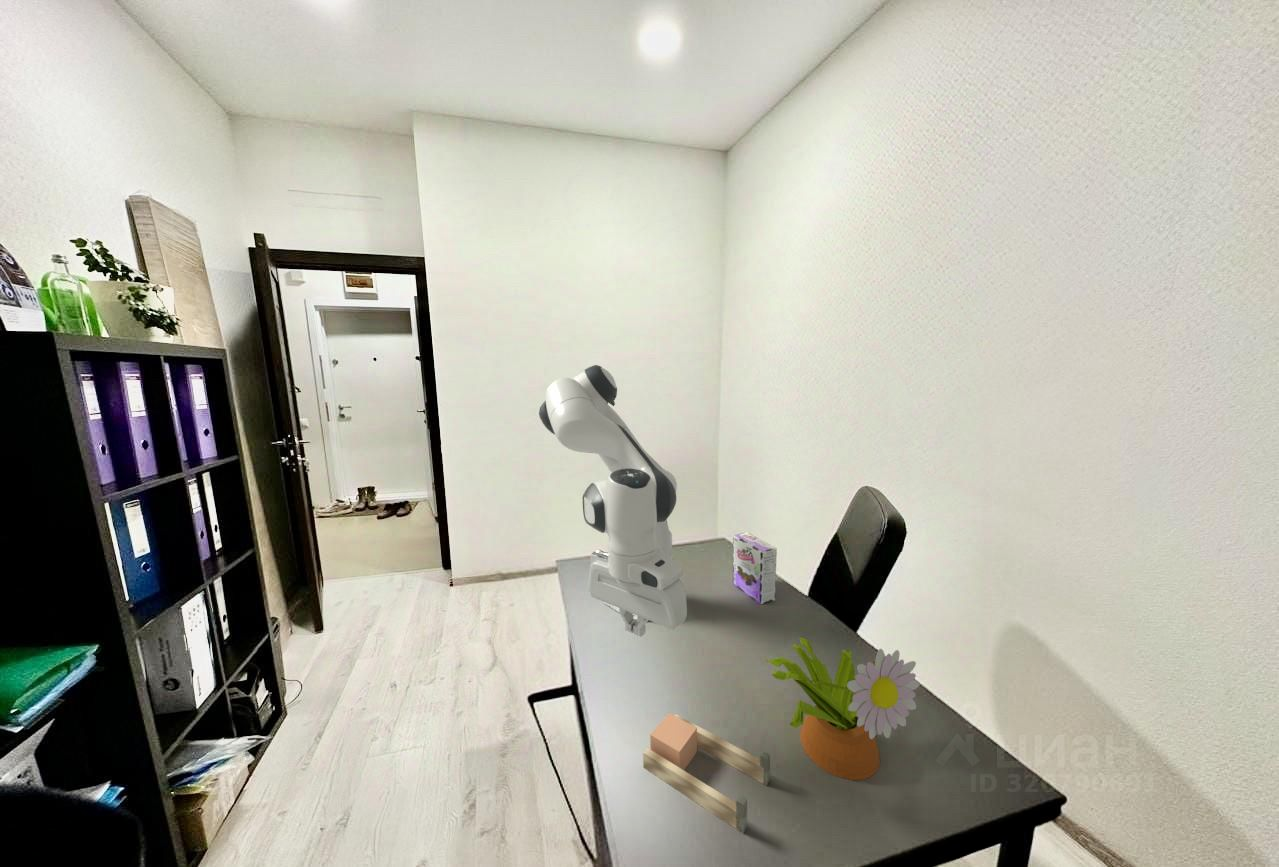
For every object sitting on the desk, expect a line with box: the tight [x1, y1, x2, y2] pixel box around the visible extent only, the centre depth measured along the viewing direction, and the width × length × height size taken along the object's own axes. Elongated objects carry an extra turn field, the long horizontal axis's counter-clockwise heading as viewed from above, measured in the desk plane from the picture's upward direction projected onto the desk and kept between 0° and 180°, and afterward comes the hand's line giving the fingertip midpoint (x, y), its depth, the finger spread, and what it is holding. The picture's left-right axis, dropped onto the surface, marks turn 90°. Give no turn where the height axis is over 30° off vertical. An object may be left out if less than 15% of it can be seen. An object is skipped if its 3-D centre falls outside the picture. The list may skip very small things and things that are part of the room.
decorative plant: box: [765, 637, 921, 781], centre depth 79 cm, size 27×24×25 cm
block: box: [649, 712, 698, 771], centre depth 79 cm, size 6×6×5 cm
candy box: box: [732, 531, 778, 605], centre depth 132 cm, size 14×6×16 cm, turn 23°
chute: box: [642, 713, 771, 834], centre depth 75 cm, size 19×10×5 cm, turn 53°
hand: (635, 632), depth 80 cm, fingers closed
